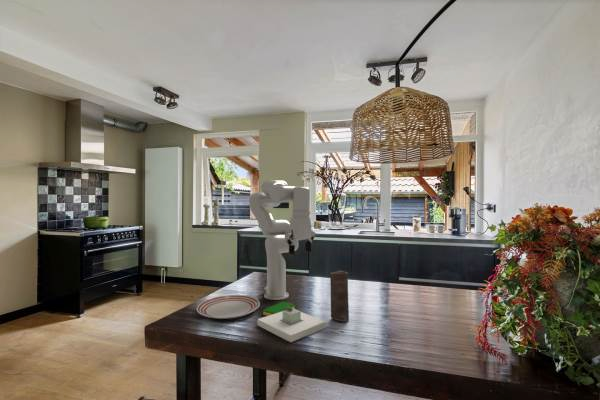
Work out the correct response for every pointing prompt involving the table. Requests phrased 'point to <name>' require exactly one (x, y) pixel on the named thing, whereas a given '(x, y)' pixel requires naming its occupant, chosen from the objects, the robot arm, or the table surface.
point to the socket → (294, 331)
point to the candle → (339, 296)
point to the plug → (291, 316)
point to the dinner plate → (228, 306)
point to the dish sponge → (277, 308)
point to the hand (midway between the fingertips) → (300, 252)
